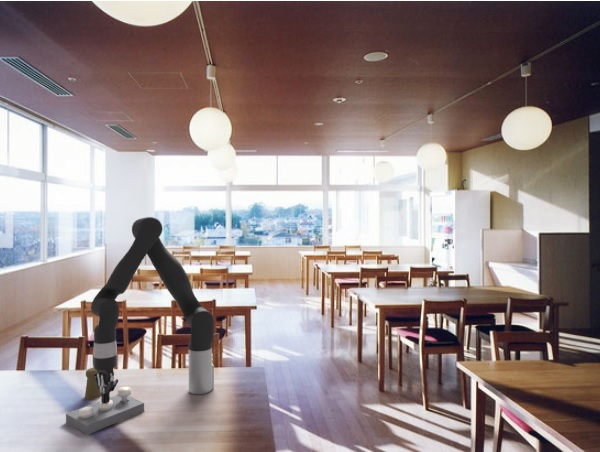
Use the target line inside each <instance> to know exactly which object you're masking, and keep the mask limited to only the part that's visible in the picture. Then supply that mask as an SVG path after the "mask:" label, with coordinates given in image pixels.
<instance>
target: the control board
mask: <svg viewBox="0 0 600 452" xmlns="http://www.w3.org/2000/svg"><path fill="white" fill-rule="evenodd" d="M110 400H112V401H113V408H112V409H110V410H107V411H100V410H99V403H100V402H101V400H99V401H97V402H94V403H92V404H89V405H86V406H82V407H80V408H78V409H75V410H72V411H70V412H67V413H65V424H68V425H70V426H71V427H73V428H75V429H77V430H78V431H80V432H82V433H83V434H84V435H87V436H88V435H90V434H92V433H93V434H94V433H95V432H97V431H99V430H102V429H104V428H107V427H109V426H111V425H113V424H117V423H119V422H121V421H123V420H124V421H125V420H126V419H128V418H130V417H133V416H136V415H138V414H141V413H143V412H145V402H143V401H141V400H138V399H136V398H134V397H132V396H130V395H129V396H127V402H125V403H121V397H119V396H118V394H117V395H114V396H111V397H110ZM85 407H93V408H94V415H93V416H92V417H89V418H85V419H82V418H79V410H80V409H82V408H85Z"/></svg>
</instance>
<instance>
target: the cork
mask: <svg viewBox="0 0 600 452" xmlns="http://www.w3.org/2000/svg"><path fill="white" fill-rule="evenodd" d="M96 372H97V370H95V369H94V367H90V368H87V370H86V371H85V378H86V386H85V392H84V393H85V394H84V399H85V400H88V401H89V400H90V401H92V400H97V399H100V398H101V392H100V389H99V390H98V388H97V386H96V383H95V380H94V377H93V374H94V373H96Z"/></svg>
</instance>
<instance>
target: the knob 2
mask: <svg viewBox="0 0 600 452" xmlns="http://www.w3.org/2000/svg"><path fill="white" fill-rule="evenodd" d="M131 394H132V389H131V387H130V386H122V387H119V388H117V395H118V396H119V397H121V403H125V402H127V396H130V395H131Z"/></svg>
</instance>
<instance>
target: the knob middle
mask: <svg viewBox="0 0 600 452" xmlns="http://www.w3.org/2000/svg"><path fill="white" fill-rule="evenodd" d="M99 402H100V401H99ZM112 408H113V401H112V400H110V401H109V402H108V403H105V404H104V403H102V402H100V403H99V410H100V411H107V410H110V409H112Z"/></svg>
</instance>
